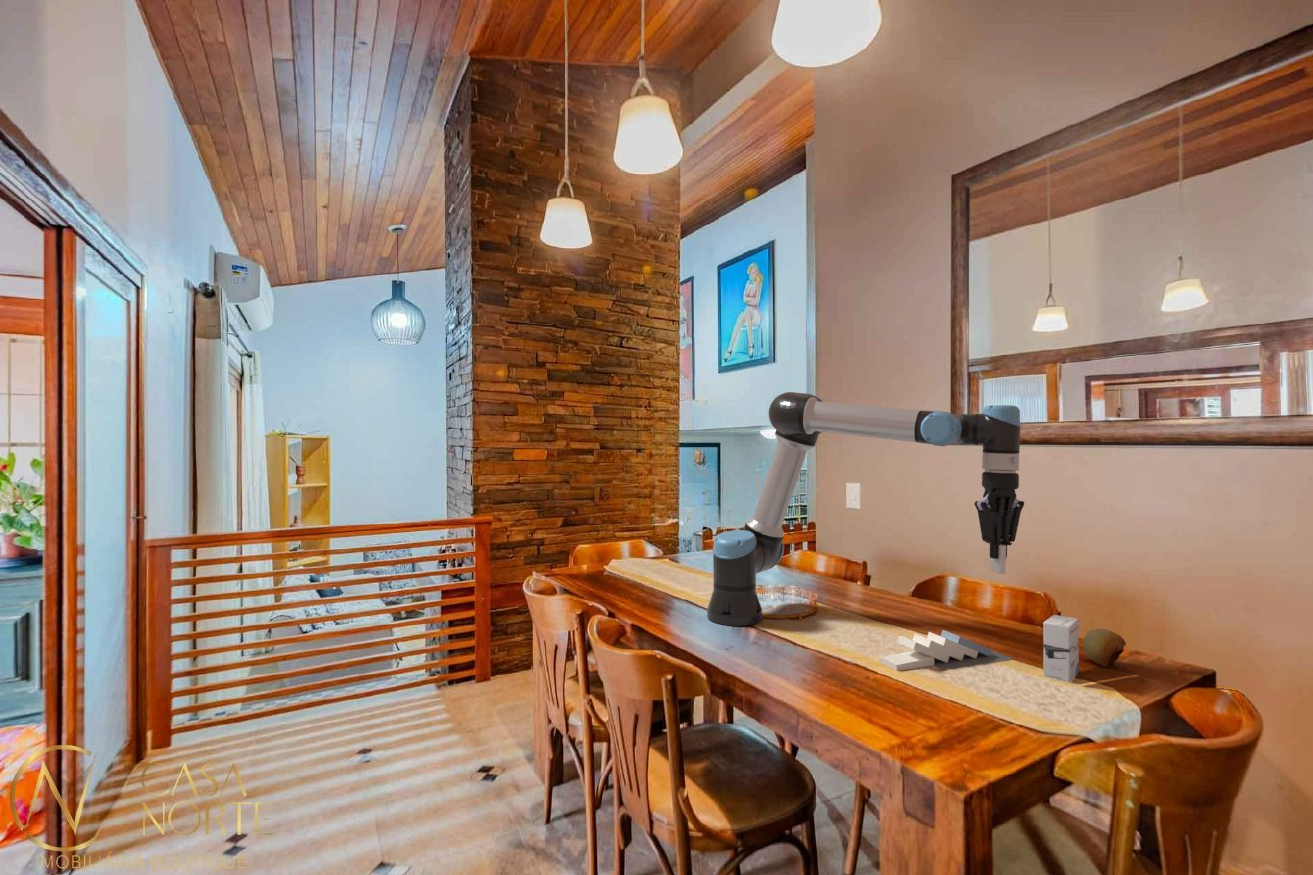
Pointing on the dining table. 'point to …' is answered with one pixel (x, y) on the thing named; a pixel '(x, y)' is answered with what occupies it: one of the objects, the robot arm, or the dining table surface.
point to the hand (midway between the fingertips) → (997, 572)
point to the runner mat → (970, 661)
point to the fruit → (1103, 646)
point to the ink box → (1061, 648)
